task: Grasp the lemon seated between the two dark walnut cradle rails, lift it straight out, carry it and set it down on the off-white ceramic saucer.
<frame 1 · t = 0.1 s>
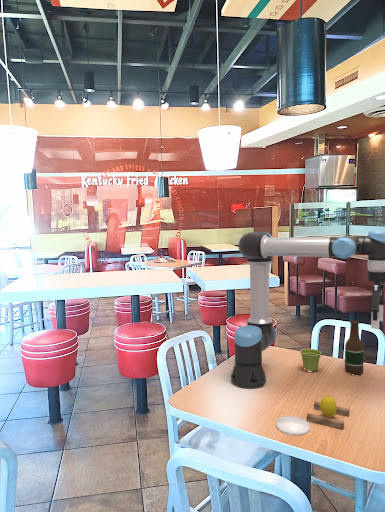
hand: (377, 324, 154), 28 cm above the table, fingers open, 13 cm apart
pocket frame: (328, 417, 137), on the table
plant pot: (310, 370, 182), on the table
lemon: (328, 418, 137), on the table
saucer: (292, 426, 132), on the table
beer bottle: (353, 373, 178), on the table
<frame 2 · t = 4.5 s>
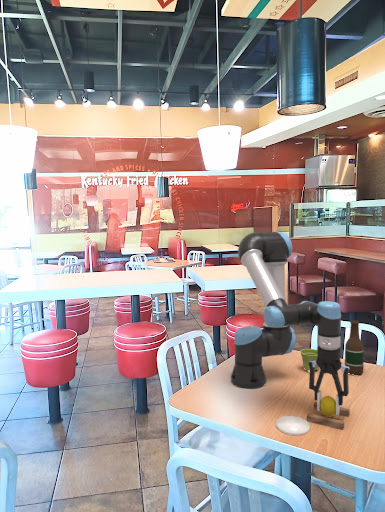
hand: (328, 411, 137), 2 cm above the table, fingers closed on lemon, 5 cm apart
lemon: (328, 418, 137), on the table, touching gripper
everything else where it was.
when the fingers open (5 cm above the table, at t = 8.9 s): lemon drops 1 cm, resting on saucer.
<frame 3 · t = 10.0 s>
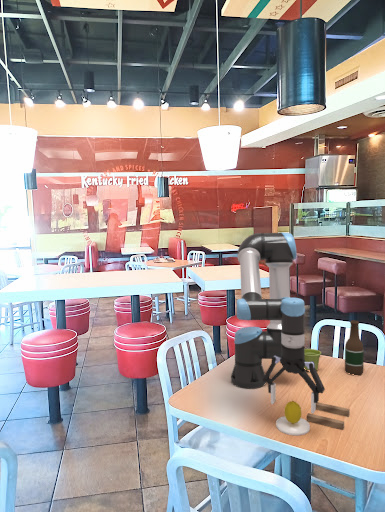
hand: (292, 406, 131), 7 cm above the table, fingers open, 13 cm apart
lemon: (293, 424, 132), point 1 cm above the table, touching saucer
everything else where it was.
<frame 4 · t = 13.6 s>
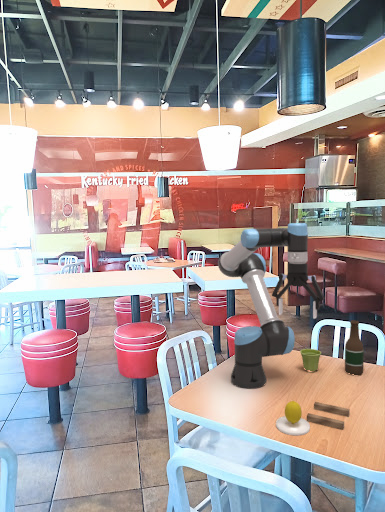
hand: (297, 316, 154), 32 cm above the table, fingers open, 13 cm apart
nothing on the table moved.
at the end: lemon 0.1 cm from the saucer (horizontally); lemon point 0.8 cm above the table; the gripper is holding nothing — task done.
